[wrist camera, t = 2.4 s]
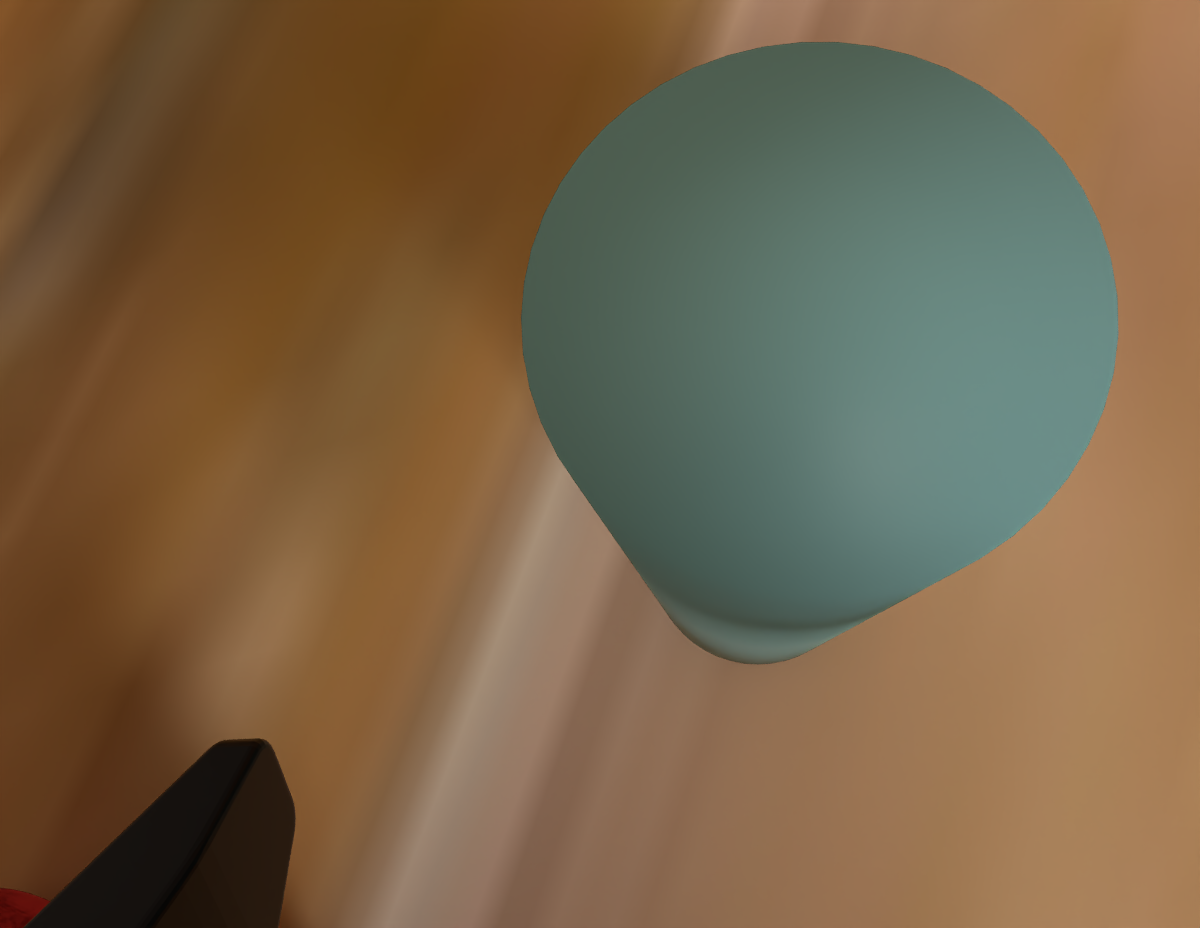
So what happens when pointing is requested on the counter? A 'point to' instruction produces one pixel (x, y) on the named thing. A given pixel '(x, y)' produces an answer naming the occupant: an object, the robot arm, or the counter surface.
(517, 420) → the counter surface
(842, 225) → the peg
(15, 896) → the decorative item
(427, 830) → the counter surface
